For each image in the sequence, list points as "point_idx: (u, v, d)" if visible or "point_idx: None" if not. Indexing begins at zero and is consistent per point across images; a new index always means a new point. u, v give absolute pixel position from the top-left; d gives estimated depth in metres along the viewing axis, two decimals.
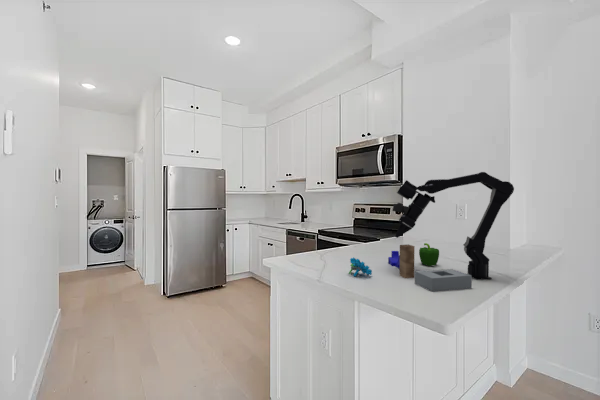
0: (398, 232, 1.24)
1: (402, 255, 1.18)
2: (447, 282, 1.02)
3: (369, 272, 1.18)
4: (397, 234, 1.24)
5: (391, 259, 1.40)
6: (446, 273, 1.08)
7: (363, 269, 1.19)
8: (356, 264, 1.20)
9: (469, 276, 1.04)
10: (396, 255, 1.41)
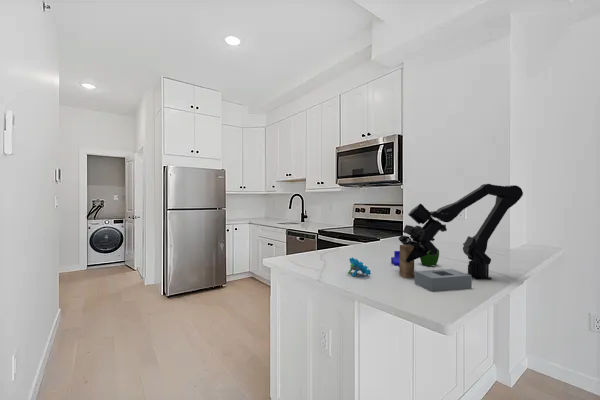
0: (411, 256, 1.16)
1: (402, 255, 1.18)
2: (447, 282, 1.02)
3: None
4: (409, 258, 1.16)
5: (394, 259, 1.40)
6: (446, 273, 1.08)
7: (362, 269, 1.19)
8: (355, 264, 1.20)
9: (469, 276, 1.04)
10: (399, 255, 1.41)
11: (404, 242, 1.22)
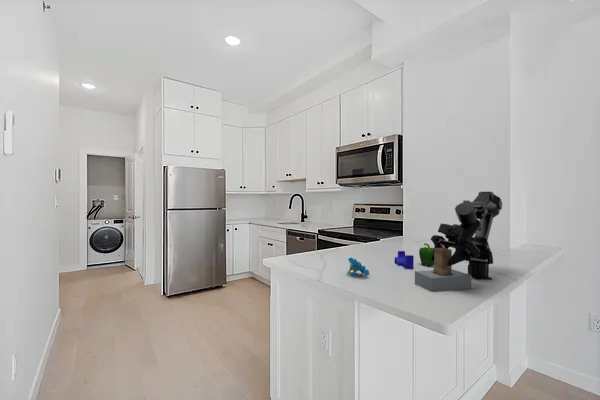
0: (453, 260, 1.02)
1: (437, 259, 1.06)
2: (447, 282, 1.02)
3: (366, 272, 1.18)
4: (450, 262, 1.02)
5: (397, 259, 1.40)
6: None
7: (361, 269, 1.19)
8: (354, 264, 1.21)
9: (469, 276, 1.04)
10: (402, 255, 1.41)
11: (435, 242, 1.12)
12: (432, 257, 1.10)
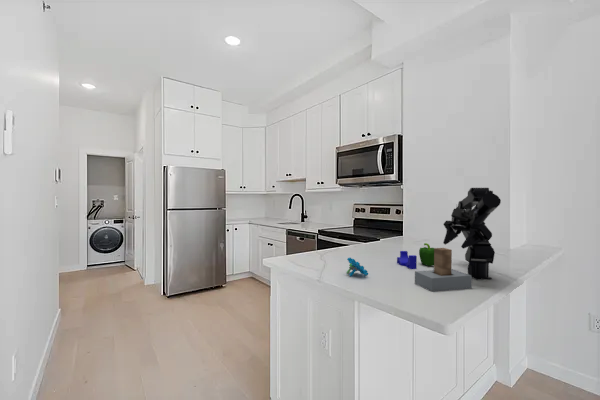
0: (467, 242, 1.07)
1: (437, 259, 1.06)
2: (447, 282, 1.02)
3: None
4: (465, 244, 1.07)
5: (400, 259, 1.40)
6: None
7: (360, 269, 1.19)
8: (353, 264, 1.21)
9: (469, 276, 1.04)
10: (405, 255, 1.41)
11: (447, 226, 1.19)
12: (444, 240, 1.16)
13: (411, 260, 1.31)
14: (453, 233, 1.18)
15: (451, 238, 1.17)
